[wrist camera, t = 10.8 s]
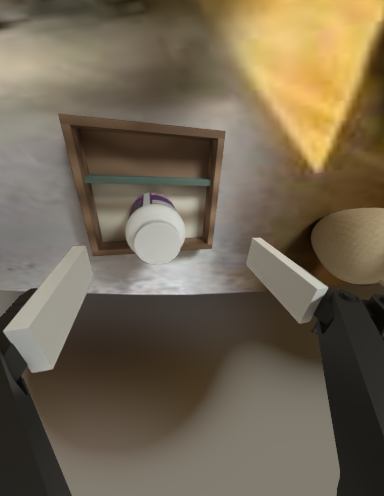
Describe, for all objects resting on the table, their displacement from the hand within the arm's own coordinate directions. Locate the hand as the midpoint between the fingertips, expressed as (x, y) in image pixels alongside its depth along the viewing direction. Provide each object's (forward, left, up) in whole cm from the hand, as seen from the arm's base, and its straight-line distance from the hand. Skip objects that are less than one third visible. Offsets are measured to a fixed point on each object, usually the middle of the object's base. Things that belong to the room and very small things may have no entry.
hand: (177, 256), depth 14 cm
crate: (-1, -1, -22) cm, 22 cm away
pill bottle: (+2, -1, -21) cm, 21 cm away
